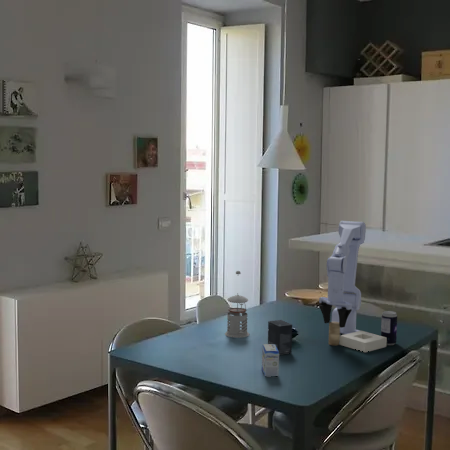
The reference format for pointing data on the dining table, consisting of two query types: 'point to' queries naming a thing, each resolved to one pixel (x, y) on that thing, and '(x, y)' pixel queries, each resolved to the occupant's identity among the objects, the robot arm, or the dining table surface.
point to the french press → (237, 317)
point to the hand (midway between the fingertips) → (334, 325)
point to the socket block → (363, 341)
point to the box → (280, 336)
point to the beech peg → (334, 333)
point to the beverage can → (389, 327)
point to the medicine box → (270, 360)
